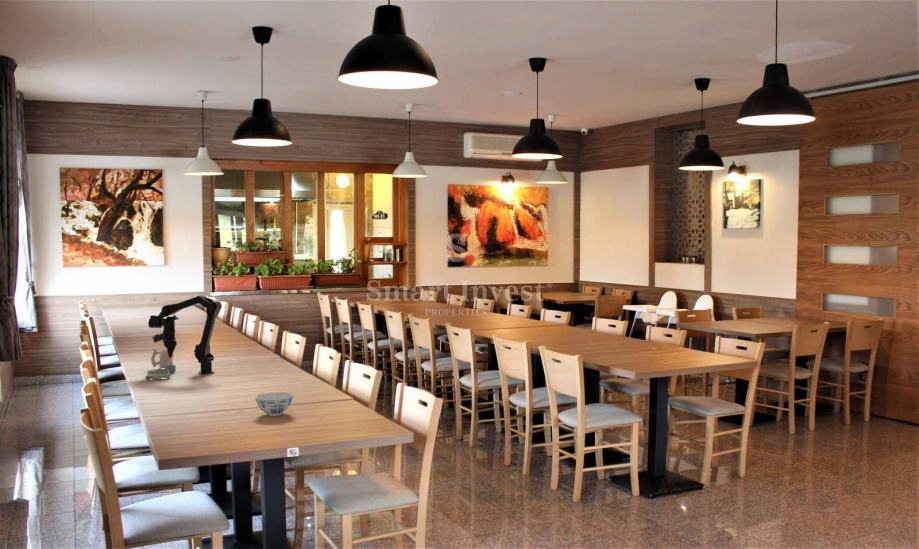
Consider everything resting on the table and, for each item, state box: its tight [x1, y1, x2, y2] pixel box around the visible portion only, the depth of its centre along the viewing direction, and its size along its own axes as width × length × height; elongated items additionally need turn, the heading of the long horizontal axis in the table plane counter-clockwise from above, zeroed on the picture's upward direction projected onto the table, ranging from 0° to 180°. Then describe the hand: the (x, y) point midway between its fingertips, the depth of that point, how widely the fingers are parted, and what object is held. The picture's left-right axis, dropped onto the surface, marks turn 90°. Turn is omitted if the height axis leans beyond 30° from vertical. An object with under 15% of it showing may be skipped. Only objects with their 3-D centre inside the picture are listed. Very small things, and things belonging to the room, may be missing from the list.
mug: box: [150, 347, 175, 369], centre depth 435 cm, size 8×12×12 cm, turn 120°
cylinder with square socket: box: [164, 364, 177, 374], centre depth 421 cm, size 5×5×4 cm
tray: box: [146, 369, 171, 381], centre depth 408 cm, size 15×11×2 cm
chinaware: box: [255, 391, 294, 417], centre depth 320 cm, size 15×15×8 cm
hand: (169, 357), depth 421 cm, fingers closed on ball, 4 cm apart
